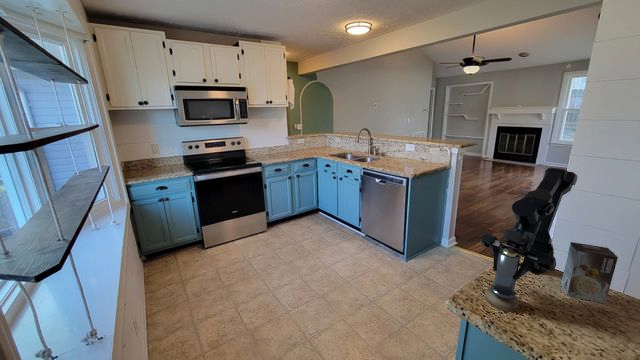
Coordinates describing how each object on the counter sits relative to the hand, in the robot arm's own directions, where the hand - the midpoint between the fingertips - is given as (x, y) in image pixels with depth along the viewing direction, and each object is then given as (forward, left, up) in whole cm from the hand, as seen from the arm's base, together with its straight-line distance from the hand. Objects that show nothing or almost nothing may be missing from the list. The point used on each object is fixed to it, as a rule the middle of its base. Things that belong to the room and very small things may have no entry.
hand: (504, 275), depth 79 cm
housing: (-1, 0, -7) cm, 7 cm away
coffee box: (-28, +6, -10) cm, 31 cm away
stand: (-1, 0, -10) cm, 10 cm away
